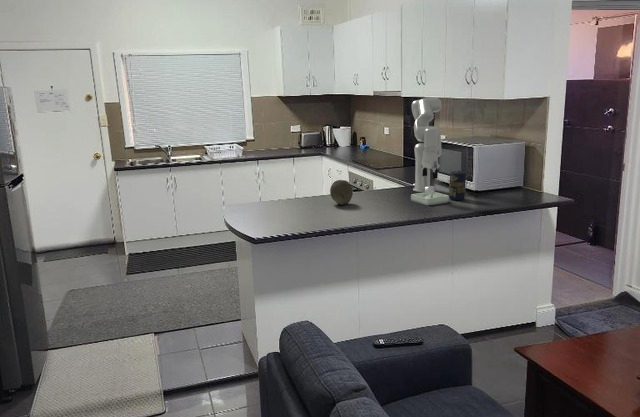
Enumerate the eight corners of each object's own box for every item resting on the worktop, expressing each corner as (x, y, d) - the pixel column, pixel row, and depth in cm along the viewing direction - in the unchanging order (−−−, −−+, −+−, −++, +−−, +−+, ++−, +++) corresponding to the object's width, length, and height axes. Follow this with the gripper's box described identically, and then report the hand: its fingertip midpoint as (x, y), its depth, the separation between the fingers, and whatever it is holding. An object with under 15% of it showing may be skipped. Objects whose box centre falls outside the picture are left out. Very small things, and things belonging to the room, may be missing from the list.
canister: (445, 199, 320) (446, 170, 316) (455, 197, 326) (456, 168, 322) (458, 201, 313) (459, 172, 309) (468, 199, 319) (469, 170, 314)
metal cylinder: (422, 199, 318) (422, 186, 316) (430, 198, 320) (430, 185, 318) (428, 201, 312) (429, 188, 311) (436, 200, 315) (437, 187, 313)
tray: (411, 200, 320) (411, 194, 319) (431, 197, 327) (431, 191, 326) (427, 205, 306) (427, 199, 305) (448, 202, 313) (448, 195, 312)
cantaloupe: (357, 203, 318) (357, 179, 315) (345, 207, 307) (344, 183, 304) (337, 200, 326) (337, 177, 323) (325, 205, 315) (324, 181, 311)
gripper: (416, 147, 315) (416, 175, 320) (434, 151, 300) (434, 180, 305) (426, 146, 318) (425, 174, 323) (445, 150, 303) (444, 178, 308)
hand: (429, 177), depth 314 cm, fingers open, 9 cm apart
